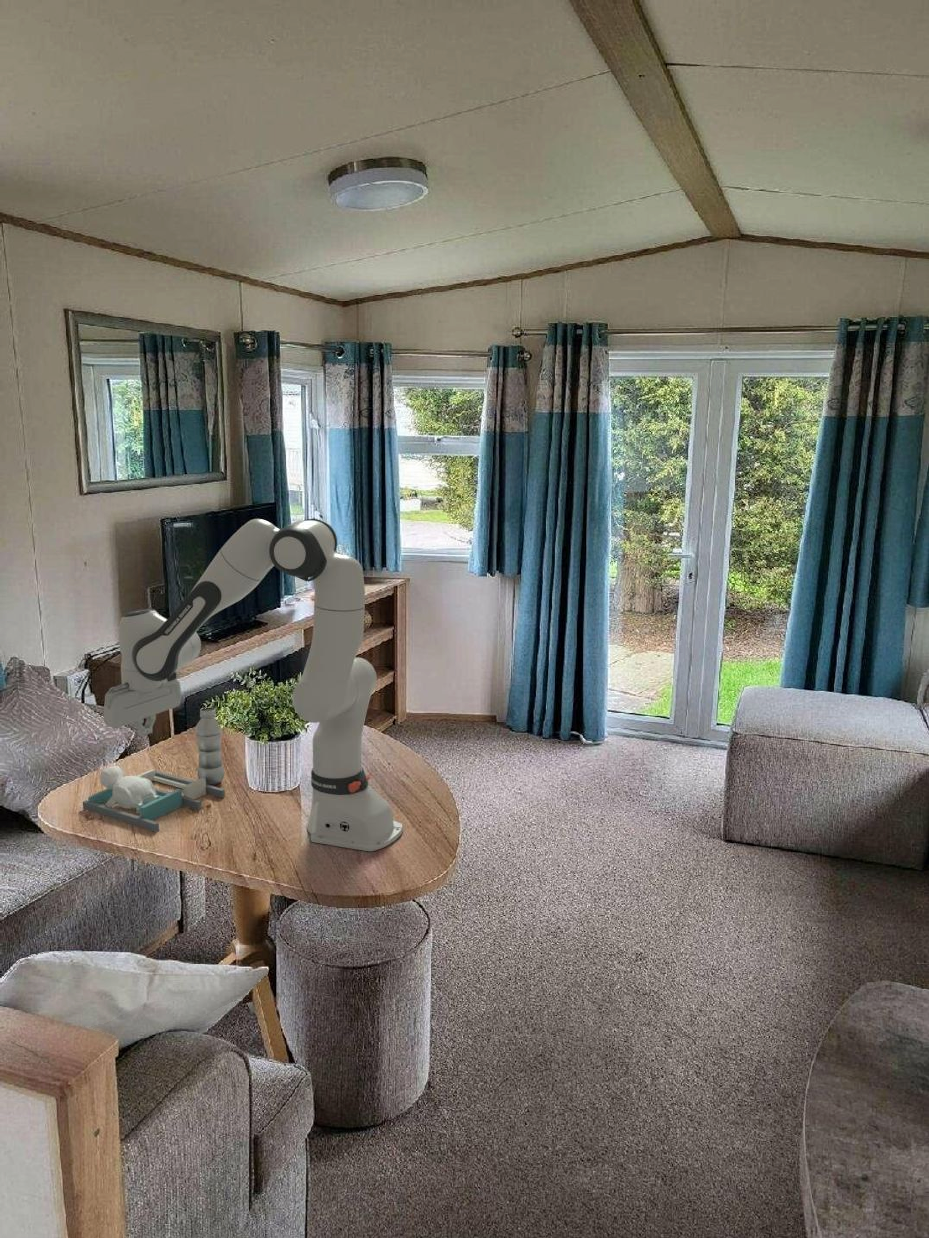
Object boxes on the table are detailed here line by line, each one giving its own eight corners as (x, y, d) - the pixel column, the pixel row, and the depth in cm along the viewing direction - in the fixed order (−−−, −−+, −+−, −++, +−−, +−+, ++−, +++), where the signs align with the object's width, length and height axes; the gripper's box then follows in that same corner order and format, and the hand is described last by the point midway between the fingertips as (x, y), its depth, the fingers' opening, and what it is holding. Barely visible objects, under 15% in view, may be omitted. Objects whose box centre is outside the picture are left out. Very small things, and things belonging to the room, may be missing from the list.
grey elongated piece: (206, 793, 218) (205, 778, 217) (187, 802, 213) (186, 787, 212) (152, 778, 226) (151, 764, 226) (133, 787, 221) (132, 772, 220)
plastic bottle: (220, 788, 222) (217, 713, 218) (194, 787, 222) (190, 713, 218) (227, 778, 228) (224, 705, 224) (202, 777, 228) (198, 705, 224)
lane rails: (224, 796, 217) (224, 789, 217) (155, 832, 198) (155, 824, 197) (155, 777, 228) (154, 770, 227) (83, 809, 208) (82, 801, 208)
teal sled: (182, 805, 211) (181, 789, 210) (144, 824, 201) (143, 808, 200) (128, 789, 219) (127, 774, 219) (89, 806, 209) (87, 791, 208)
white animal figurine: (156, 813, 214) (114, 781, 219) (164, 785, 211) (121, 754, 216) (130, 827, 207) (86, 793, 211) (137, 798, 204) (93, 765, 208)
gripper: (114, 691, 191) (118, 751, 194) (184, 670, 208) (186, 724, 211) (95, 687, 193) (99, 745, 196) (165, 666, 211) (168, 720, 214)
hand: (145, 734), depth 204 cm, fingers closed
